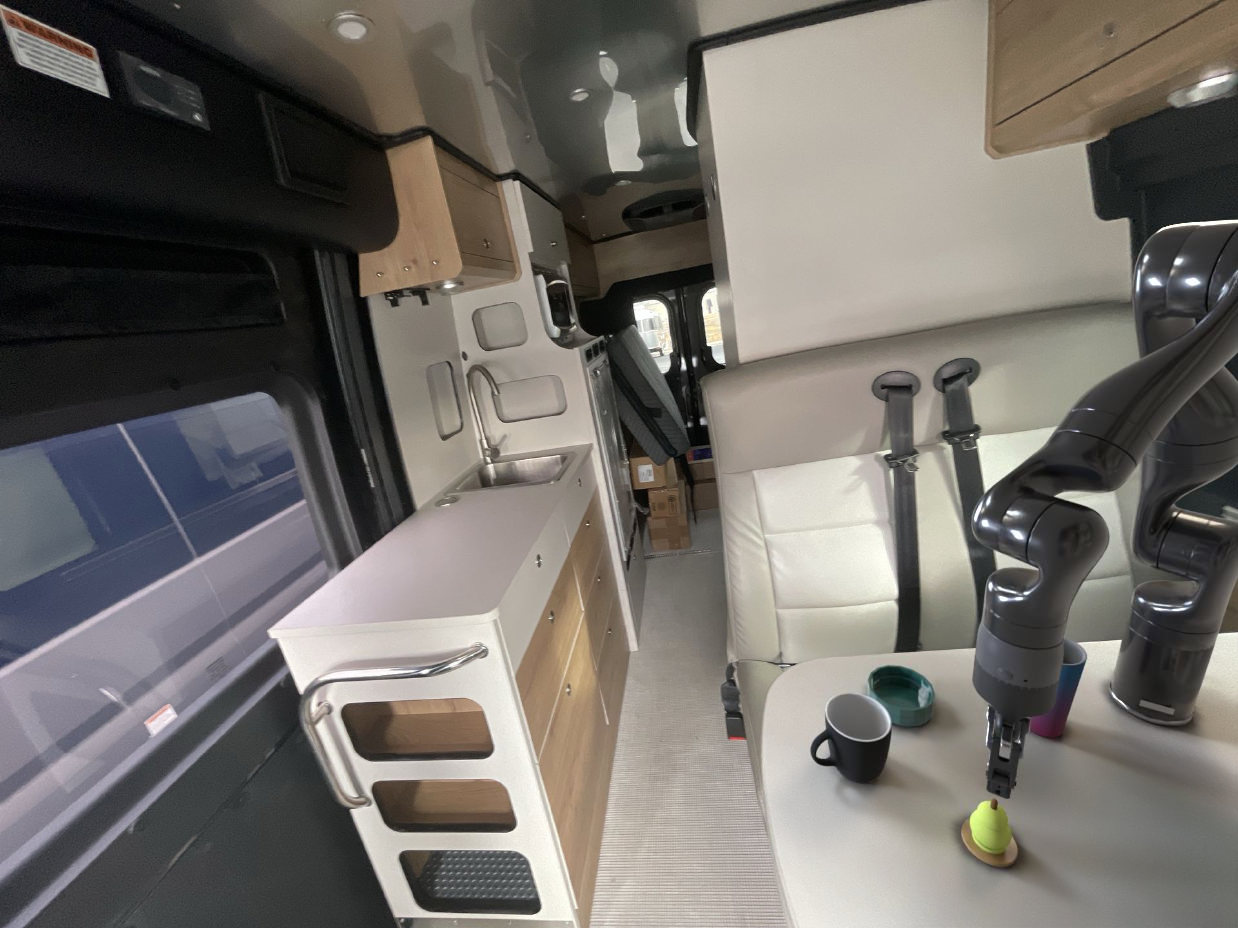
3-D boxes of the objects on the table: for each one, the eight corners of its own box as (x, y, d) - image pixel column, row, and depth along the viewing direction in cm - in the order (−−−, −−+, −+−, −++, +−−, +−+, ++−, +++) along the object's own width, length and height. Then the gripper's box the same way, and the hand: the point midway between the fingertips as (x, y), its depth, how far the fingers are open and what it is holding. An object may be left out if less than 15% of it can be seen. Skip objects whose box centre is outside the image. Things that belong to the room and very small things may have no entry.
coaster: (964, 811, 73) (964, 808, 73) (1018, 834, 69) (1019, 831, 69) (958, 850, 69) (958, 847, 68) (1015, 876, 65) (1016, 873, 65)
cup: (1080, 744, 79) (1098, 665, 74) (1028, 741, 81) (1041, 664, 75) (1055, 707, 85) (1070, 632, 80) (1007, 705, 87) (1018, 632, 81)
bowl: (875, 675, 97) (876, 658, 95) (937, 695, 91) (939, 677, 89) (861, 713, 90) (861, 695, 88) (927, 737, 84) (928, 719, 82)
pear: (970, 816, 72) (975, 777, 69) (1010, 833, 69) (1017, 793, 66) (966, 845, 68) (971, 805, 66) (1008, 864, 66) (1015, 823, 63)
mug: (865, 733, 86) (866, 685, 82) (903, 781, 78) (906, 731, 74) (796, 753, 85) (795, 706, 81) (828, 805, 76) (827, 755, 73)
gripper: (1060, 720, 51) (1038, 832, 57) (1061, 629, 61) (1042, 732, 67) (967, 691, 55) (955, 797, 61) (982, 611, 65) (971, 709, 71)
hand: (1001, 763), depth 64 cm, fingers open, 8 cm apart
